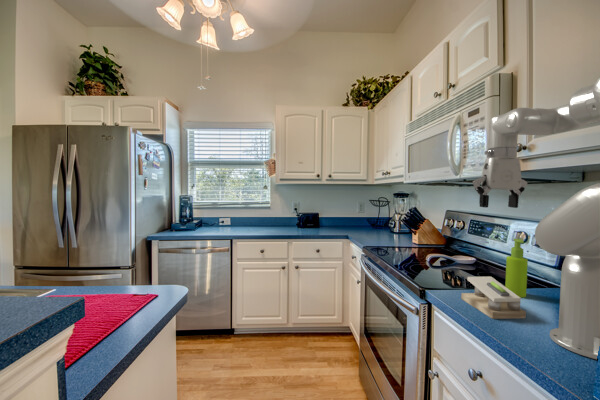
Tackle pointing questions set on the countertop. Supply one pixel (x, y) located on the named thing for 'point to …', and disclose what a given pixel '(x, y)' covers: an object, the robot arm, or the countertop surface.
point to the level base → (491, 313)
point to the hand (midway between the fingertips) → (498, 207)
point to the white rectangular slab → (494, 289)
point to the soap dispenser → (516, 270)
